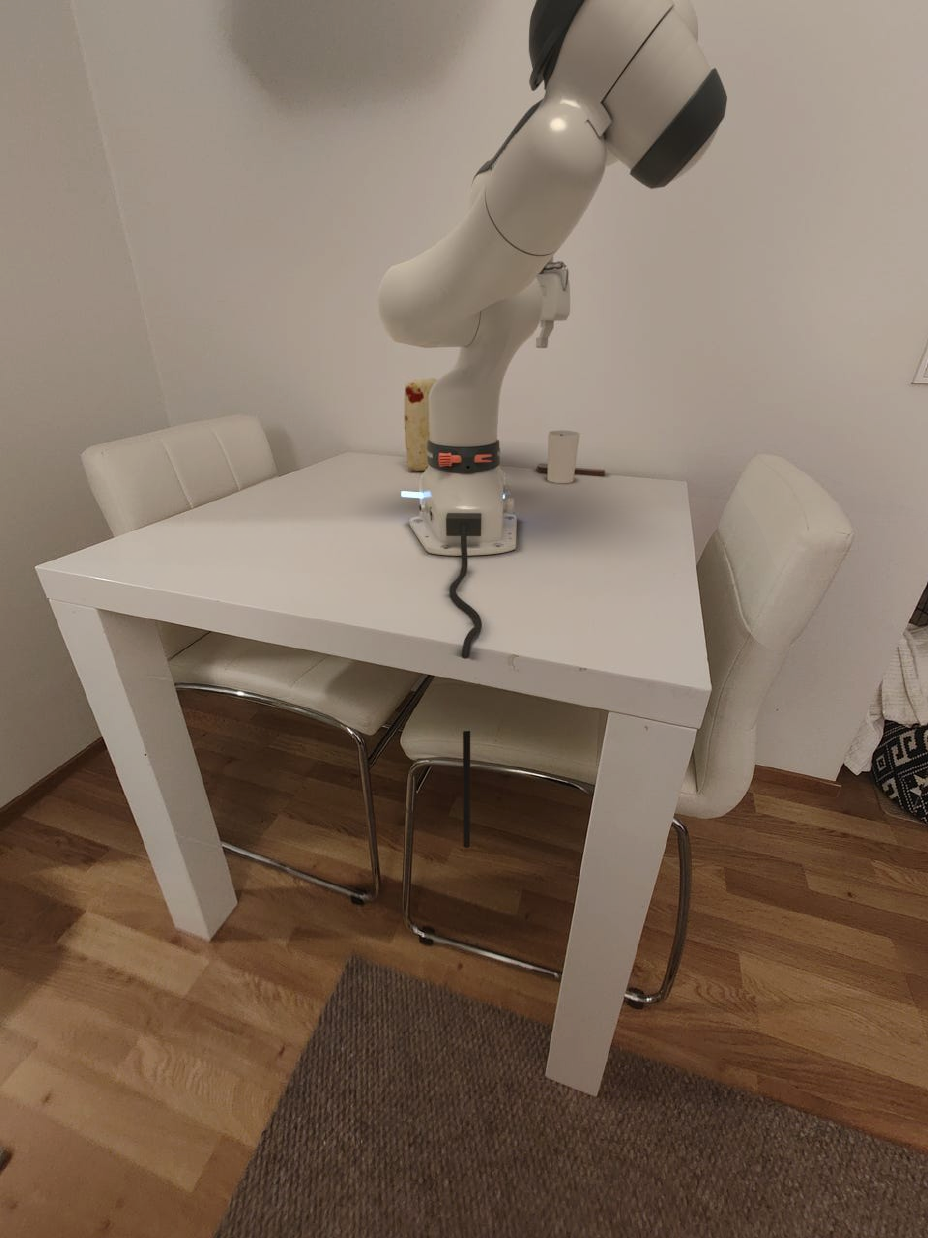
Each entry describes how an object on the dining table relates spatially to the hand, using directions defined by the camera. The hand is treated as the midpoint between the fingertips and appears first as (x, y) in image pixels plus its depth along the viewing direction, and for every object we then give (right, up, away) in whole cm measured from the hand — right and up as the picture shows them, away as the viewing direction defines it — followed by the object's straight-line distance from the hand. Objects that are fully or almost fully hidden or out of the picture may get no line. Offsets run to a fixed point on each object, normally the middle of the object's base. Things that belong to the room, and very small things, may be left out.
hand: (525, 347), depth 112 cm
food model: (-21, -18, +23) cm, 36 cm away
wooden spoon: (+12, -20, +20) cm, 31 cm away
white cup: (+9, -23, +14) cm, 29 cm away
